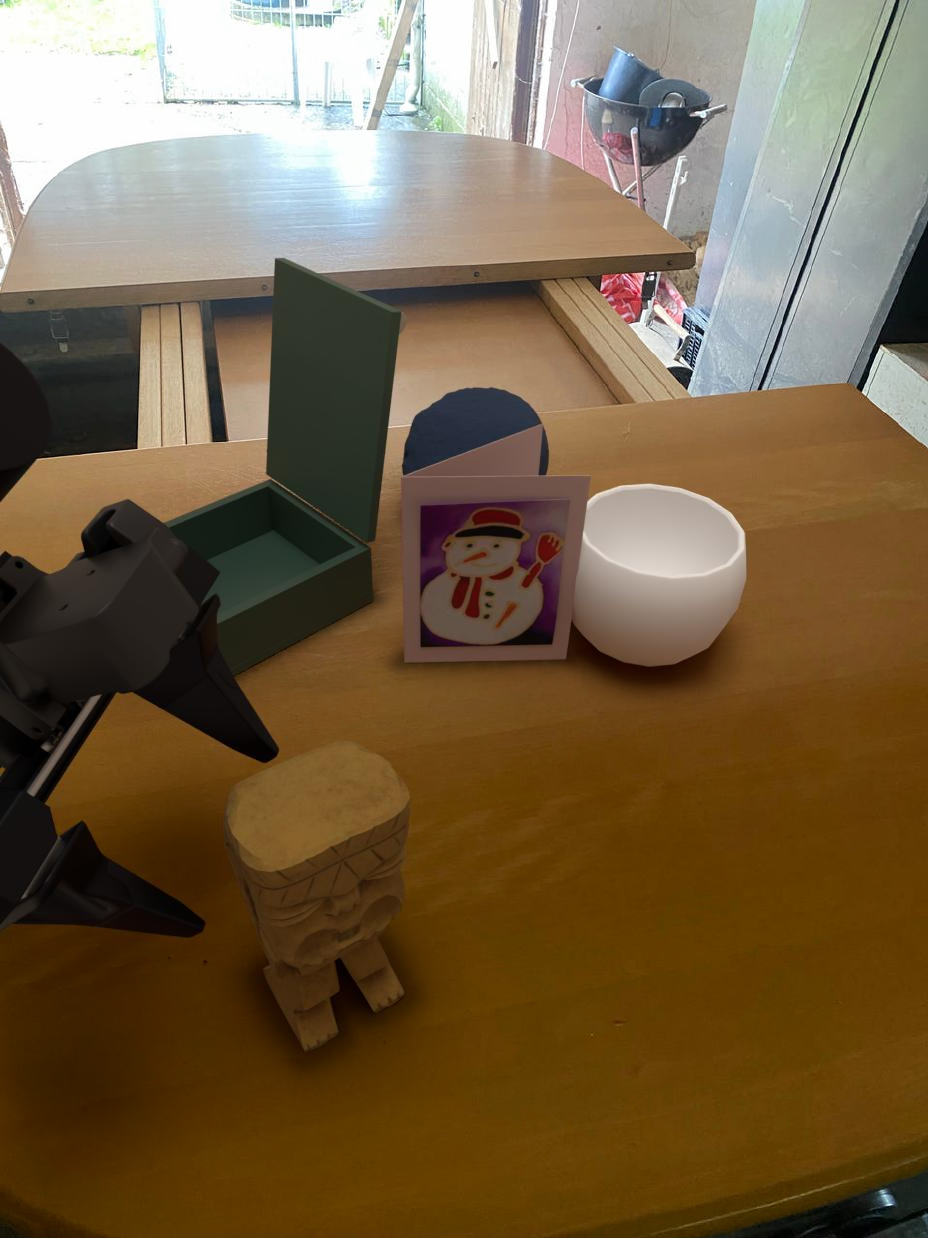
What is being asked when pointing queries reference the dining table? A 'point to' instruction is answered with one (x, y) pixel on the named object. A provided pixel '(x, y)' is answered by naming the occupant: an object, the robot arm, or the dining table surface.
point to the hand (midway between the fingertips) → (239, 836)
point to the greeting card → (490, 555)
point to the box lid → (330, 394)
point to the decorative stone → (468, 426)
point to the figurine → (321, 876)
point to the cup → (657, 573)
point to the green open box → (275, 570)
